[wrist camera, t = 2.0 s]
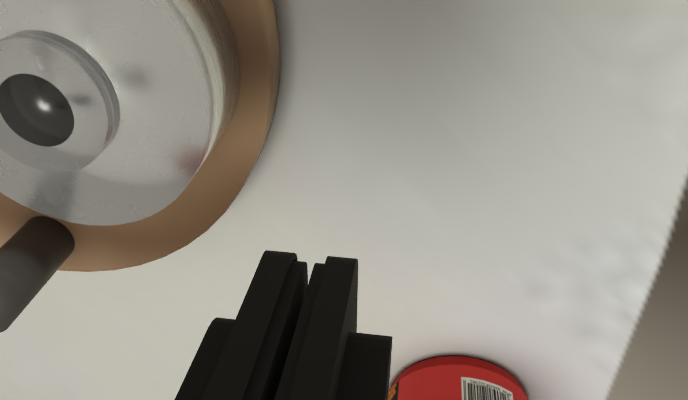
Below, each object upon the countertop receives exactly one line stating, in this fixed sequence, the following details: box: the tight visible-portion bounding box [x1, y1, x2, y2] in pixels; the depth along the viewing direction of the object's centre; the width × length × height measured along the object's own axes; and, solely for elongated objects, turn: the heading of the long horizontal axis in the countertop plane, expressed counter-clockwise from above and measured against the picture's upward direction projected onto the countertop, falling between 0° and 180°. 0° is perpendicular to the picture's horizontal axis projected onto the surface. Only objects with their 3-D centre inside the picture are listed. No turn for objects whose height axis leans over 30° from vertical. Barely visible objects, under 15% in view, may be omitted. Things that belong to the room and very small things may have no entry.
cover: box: [0, 0, 241, 226], centre depth 20 cm, size 10×10×5 cm
